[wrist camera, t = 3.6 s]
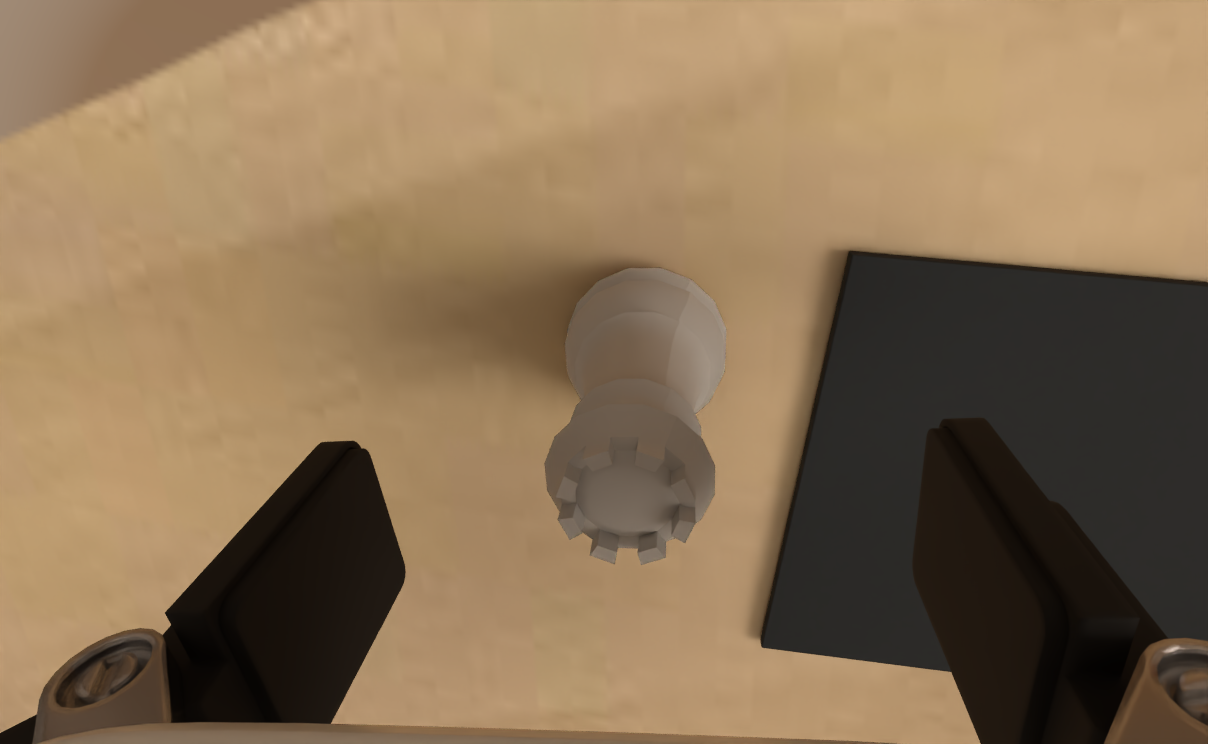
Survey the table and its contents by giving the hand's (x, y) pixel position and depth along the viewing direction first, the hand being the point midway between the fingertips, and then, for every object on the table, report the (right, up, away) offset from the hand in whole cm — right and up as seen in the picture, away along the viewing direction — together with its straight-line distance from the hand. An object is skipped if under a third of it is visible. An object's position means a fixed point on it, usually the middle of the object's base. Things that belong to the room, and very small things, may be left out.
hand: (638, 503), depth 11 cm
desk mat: (+15, -2, +8) cm, 18 cm away
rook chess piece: (+1, +3, +8) cm, 9 cm away
